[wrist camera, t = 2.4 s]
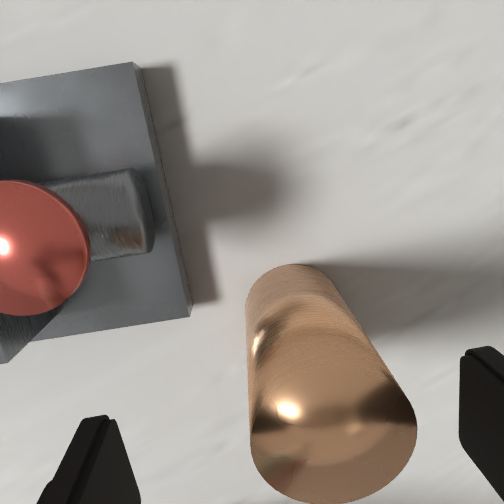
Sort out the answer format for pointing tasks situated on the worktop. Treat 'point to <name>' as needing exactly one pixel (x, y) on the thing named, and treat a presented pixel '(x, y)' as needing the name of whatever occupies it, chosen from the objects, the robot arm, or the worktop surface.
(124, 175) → the block
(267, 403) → the pipe stub
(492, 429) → the robot arm
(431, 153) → the worktop surface
